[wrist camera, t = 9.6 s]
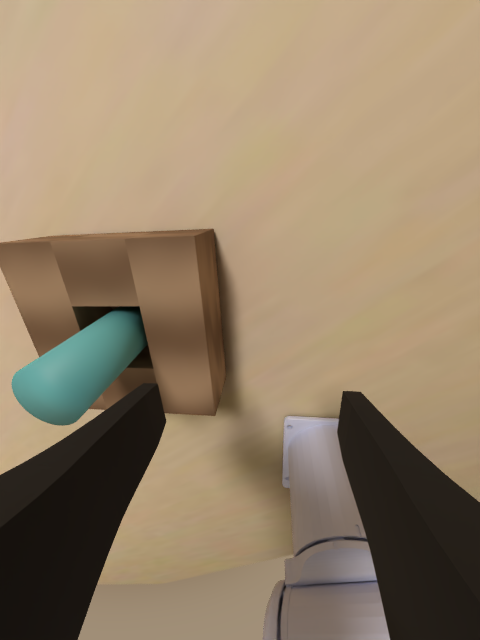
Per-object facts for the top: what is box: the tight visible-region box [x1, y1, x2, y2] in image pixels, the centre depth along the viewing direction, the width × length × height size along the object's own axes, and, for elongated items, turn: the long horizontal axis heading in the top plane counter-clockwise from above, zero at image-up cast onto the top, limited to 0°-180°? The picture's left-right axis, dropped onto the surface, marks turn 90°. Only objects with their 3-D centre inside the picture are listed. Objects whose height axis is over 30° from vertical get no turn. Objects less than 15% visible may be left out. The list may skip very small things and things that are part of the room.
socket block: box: [0, 229, 226, 416], centre depth 18 cm, size 12×12×4 cm
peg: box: [12, 306, 148, 425], centre depth 15 cm, size 3×3×9 cm
